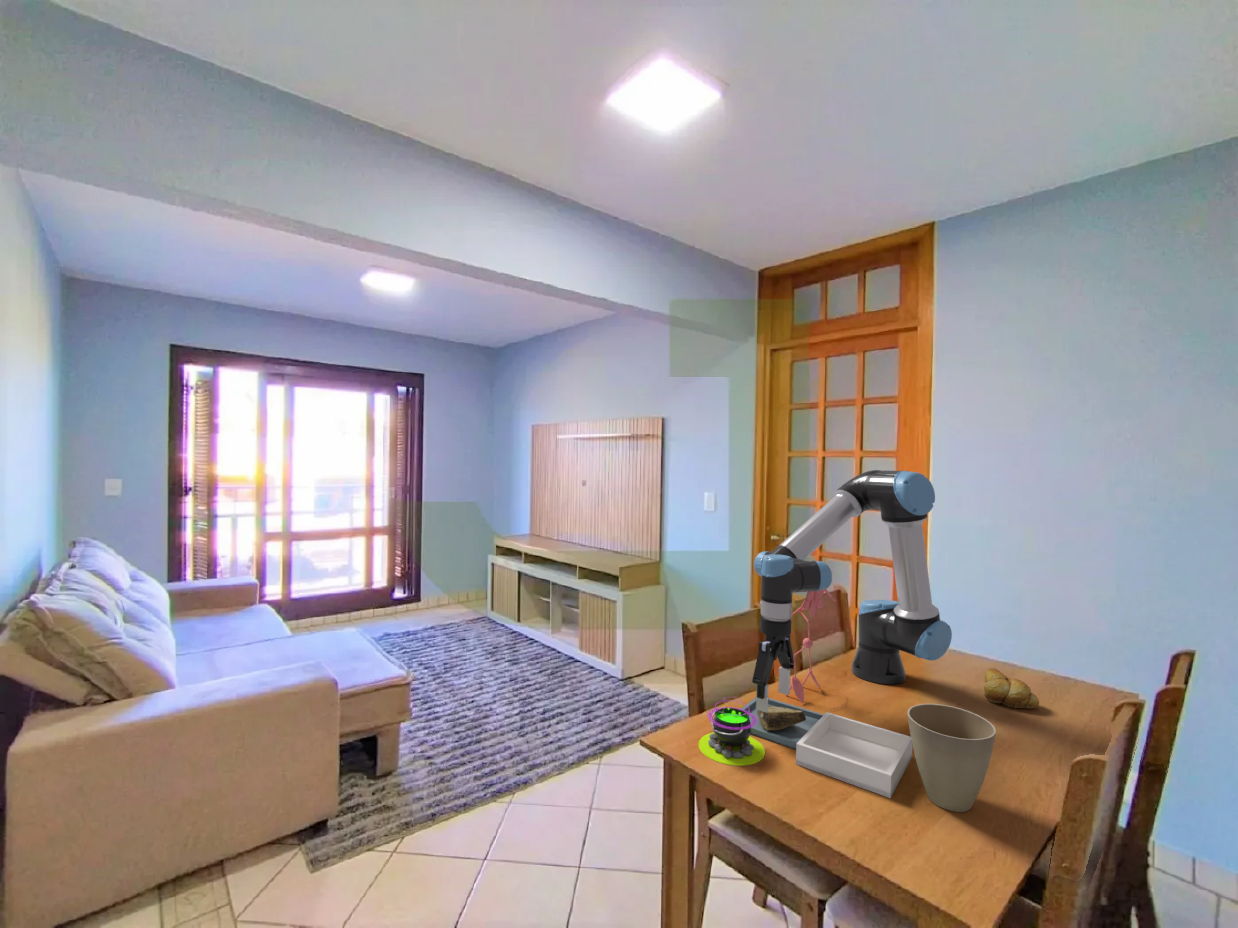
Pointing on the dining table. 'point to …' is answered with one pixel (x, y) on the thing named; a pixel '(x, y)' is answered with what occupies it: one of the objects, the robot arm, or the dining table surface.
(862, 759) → the dish
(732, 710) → the toy cauldron
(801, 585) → the robot arm
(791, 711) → the rock
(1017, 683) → the bread roll
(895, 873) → the dining table surface
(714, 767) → the dining table surface
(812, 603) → the flower sculpture
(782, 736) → the tray
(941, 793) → the plant pot
